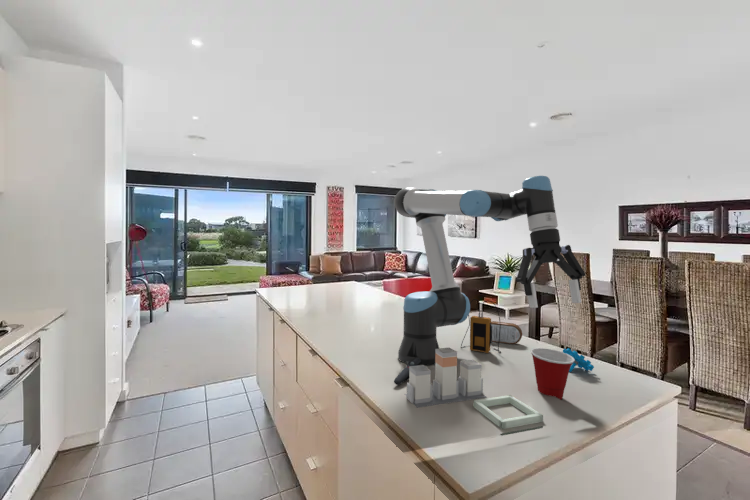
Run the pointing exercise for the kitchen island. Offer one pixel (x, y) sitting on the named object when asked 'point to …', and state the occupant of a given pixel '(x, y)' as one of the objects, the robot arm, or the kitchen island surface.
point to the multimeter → (481, 332)
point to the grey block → (420, 383)
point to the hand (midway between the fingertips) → (555, 305)
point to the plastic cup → (551, 370)
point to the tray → (509, 422)
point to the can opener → (406, 371)
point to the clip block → (436, 391)
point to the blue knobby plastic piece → (578, 360)
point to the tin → (506, 332)
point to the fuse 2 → (446, 371)
